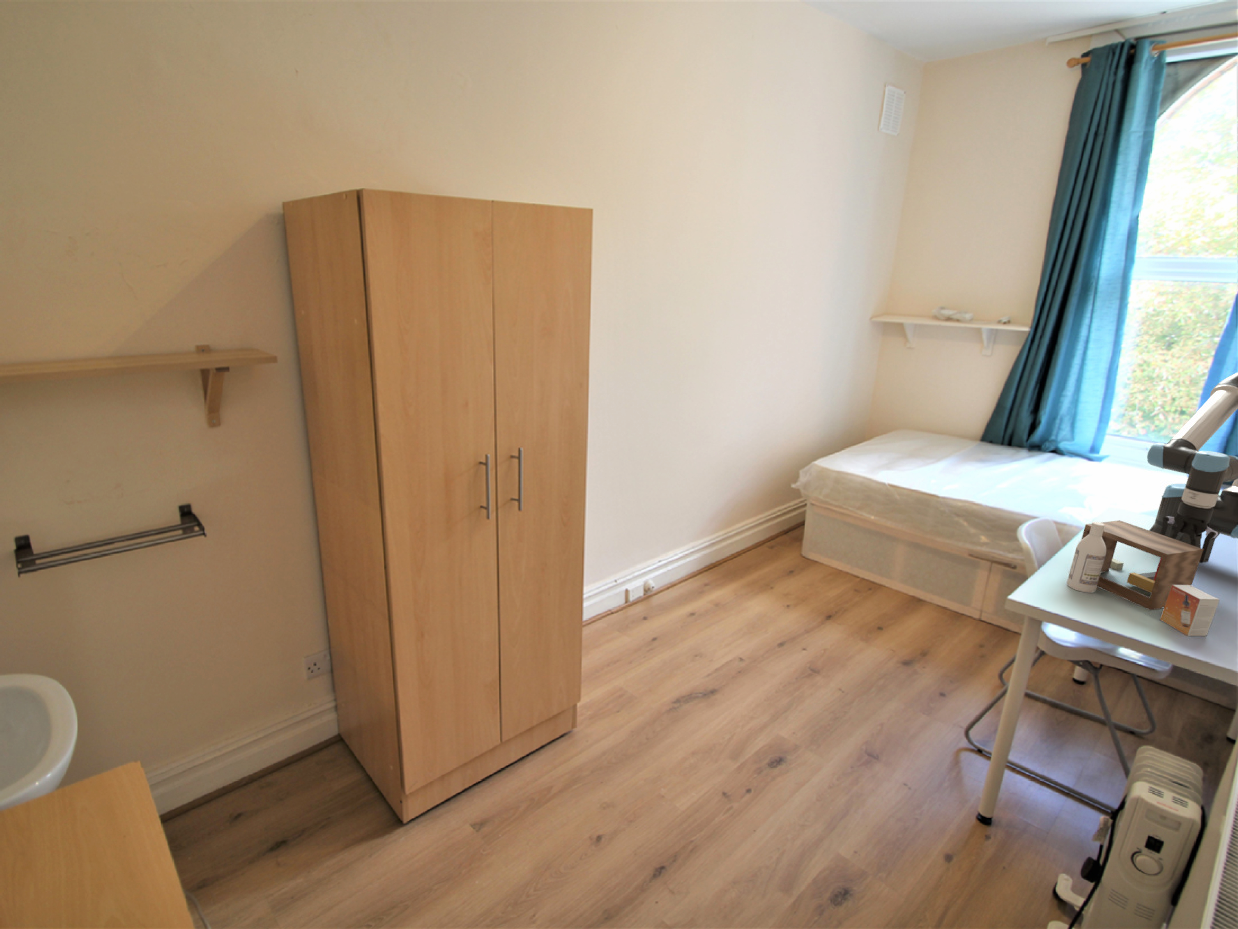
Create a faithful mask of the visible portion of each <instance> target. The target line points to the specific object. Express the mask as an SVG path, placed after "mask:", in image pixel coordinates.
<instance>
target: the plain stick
mask: <svg viewBox="0 0 1238 929" xmlns="http://www.w3.org/2000/svg"><path fill="white" fill-rule="evenodd" d="M1123 566H1124V562H1122V561H1120V560H1118V559H1116V558H1114V557H1113V558H1112V562H1111V565H1110V569H1111V568H1112V569H1114V570H1123Z"/></svg>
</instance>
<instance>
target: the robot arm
mask: <svg viewBox="0 0 1238 929" xmlns="http://www.w3.org/2000/svg"><path fill="white" fill-rule="evenodd" d="M1209 396H1210V397H1209V398H1208V399H1207V400H1206V401H1205V402H1204V403H1203V404H1202V405H1201V406H1200V407H1199V409H1198V410H1197V411H1196V412H1195V413H1193V415H1192V417H1190V419H1188V421H1187V422H1186V423H1185V424H1184V425H1183V426H1182V427H1181V428H1180V429H1179V431H1177V433H1176V434H1175V435H1174V436H1173V437H1171V439H1170V440H1169V441H1168V442H1167V443H1165V442H1156V443H1153V444H1152V445H1151V446H1150V448H1149V449H1148V452H1147V456H1146V458H1147V464H1149V465H1151V466H1153V467H1156V468H1160V469H1161V470H1168V471H1174V472H1176V473H1182V474H1186V475H1188V476H1187V481H1186V483H1171V484H1169V485H1166V487H1165V489H1164V492H1163V493H1162V494H1163V495H1161V500H1160V503H1159V507H1158V510H1157V515H1156V517H1155V520H1154V523H1153V525H1152V526H1151V528H1150V529H1149V531H1152V532H1155V533H1158V534H1161V535H1164V536H1167V537H1169V538H1172V539H1175V540H1178V541H1181V542H1184V543H1187V544H1190V545H1193V546H1196V547H1199V548H1201V549H1203V552H1202V555H1201V558H1200V561H1199V564H1202V563H1203V564H1204V563H1208V562H1209V561H1210V557H1211V554H1212V552H1213V551H1212V550H1213V548H1214V545H1215V541H1216V539H1217V538H1218V537H1219V535H1223V536H1226V537H1230V538H1233V539H1238V456H1235V455H1228V454H1226V453H1222V452H1219V451H1210V450H1200V449H1202V447H1203V446H1204V445H1205V444H1206V443H1207V442H1209V440H1210V438H1212V437H1213V435H1214V434H1215V433H1216V432H1217V431H1218V430H1220V428H1221V427H1222V426H1223V425H1224V424H1225V423H1226V421H1227V420H1229V419H1230V417H1232V415H1233V414H1234V413H1235V412H1236V411H1237V410H1238V372H1235V373H1233V374H1231V375H1229V376H1228V377H1225V379H1223V380H1220V382H1219V383H1217V384H1216V385H1215V386H1214V387H1213V388H1212V389H1211V391H1210V393H1209ZM1230 482H1233V483H1231V484H1232V485H1231V486H1229V487H1226V488H1225V489H1222V485H1223V483H1230ZM1221 489H1222V491H1221ZM1220 492H1221V493H1220ZM1219 494H1220V495H1219ZM1203 533H1205V538H1204V540H1203V543H1202V542H1201V541H1202V538H1203ZM1201 546H1202V547H1201ZM1160 559H1161V558H1160V557H1159V560H1160Z"/></svg>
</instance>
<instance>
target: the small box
mask: <svg viewBox="0 0 1238 929" xmlns="http://www.w3.org/2000/svg"><path fill="white" fill-rule="evenodd" d="M1219 603H1220V599H1219V598H1217V597H1215V596H1213V595H1211V594H1209V593H1206V592H1205V591H1202V590H1201V589H1199V588H1197V587H1195V586H1193V584H1192V585H1172V586H1171V589H1170V592H1169V595H1168V598H1167V601H1166V604H1165V607H1164V608H1162V609H1163V610H1162V613H1161V616H1160V618H1159V620H1160V621H1162V622H1163V623H1165V624H1167V625H1168V626H1170V627H1172V628H1174V629H1175V630H1177V632H1180V633H1182V634H1183V635H1184V636H1187V637H1206V636H1207V635H1208V633H1209V630H1210V629H1211V628H1210V627H1211V626H1212V622H1213V620H1214V616H1215V614H1216V611H1217V609H1218V605H1219Z"/></svg>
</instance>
